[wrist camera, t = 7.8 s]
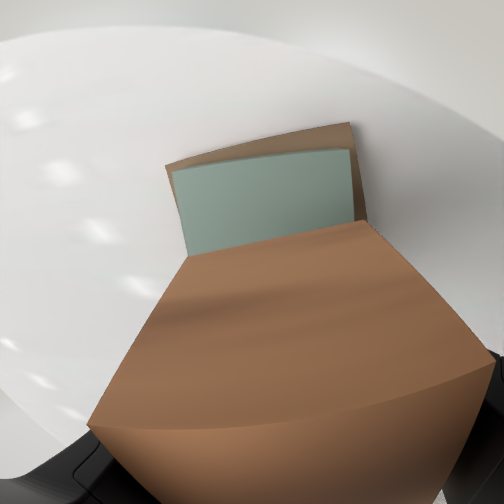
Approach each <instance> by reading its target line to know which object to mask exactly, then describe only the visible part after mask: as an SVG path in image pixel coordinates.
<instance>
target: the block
mask: <svg viewBox="0 0 504 504" xmlns="http://www.w3.org/2000/svg"><path fill="white" fill-rule="evenodd" d="M495 363H496V360H495V359H494V358H493V356H492V355H491V354H490V352H489V351H488V350H487V349H486V348H485V346H484V345H483V344H482V343H481V341H480V340H479V339H478V338H477V337H476V335H475V334H474V333H473V332H472V331H471V329H470V328H469V327H468V326H467V325H466V324H465V322H464V321H463V320H462V319H461V318H460V317H459V316H458V314H457V313H456V312H455V311H454V310H453V309H452V308H451V307H450V305H449V304H448V303H447V302H446V301H445V300H444V299H443V298H442V297H441V296H440V294H439V293H438V292H437V291H436V290H435V289H434V288H433V287H432V286H431V285H430V284H429V283H428V282H427V281H426V280H425V279H424V277H423V276H422V275H421V274H420V273H419V272H418V271H417V270H416V269H415V268H414V267H413V266H412V265H411V264H410V263H409V262H408V261H407V260H406V259H405V258H404V257H403V256H402V255H401V254H400V253H399V252H398V251H397V250H396V249H395V248H394V247H393V246H392V245H391V244H390V243H389V242H388V241H386V240H385V239H384V238H383V237H382V236H381V235H380V234H379V233H378V232H377V231H376V230H375V229H374V228H373V227H372V226H371V225H370V224H368V223H367V222H366V221H365V220H360V221H355V222H350V223H345V224H340V225H336V226H331V227H326V228H321V229H316V230H312V231H307V232H302V233H297V234H292V235H288V236H283V237H278V238H273V239H269V240H264V241H259V242H254V243H250V244H245V245H240V246H236V247H231V248H226V249H222V250H217V251H212V252H208V253H203V254H198V255H194V256H189V257H187V258H186V260H185V261H184V263H183V264H182V266H181V267H180V269H179V270H178V272H177V274H176V275H175V277H174V278H173V280H172V281H171V283H170V284H169V286H168V288H167V289H166V291H165V292H164V294H163V295H162V297H161V299H160V300H159V302H158V303H157V305H156V307H155V308H154V310H153V311H152V313H151V315H150V316H149V318H148V319H147V321H146V323H145V324H144V326H143V328H142V329H141V331H140V332H139V334H138V336H137V337H136V339H135V341H134V342H133V344H132V346H131V347H130V349H129V351H128V352H127V354H126V356H125V358H124V359H123V361H122V363H121V364H120V366H119V368H118V369H117V371H116V373H115V375H114V376H113V378H112V380H111V382H110V383H109V385H108V387H107V389H106V390H105V392H104V394H103V396H102V397H101V399H100V401H99V403H98V405H97V406H96V408H95V410H94V412H93V414H92V415H91V417H90V419H89V421H88V423H87V426H88V427H89V428H90V430H91V431H92V432H93V433H94V434H95V436H96V437H97V438H98V439H99V440H100V442H101V443H102V444H103V445H104V446H105V447H106V449H107V450H108V451H109V452H110V453H111V454H112V455H113V456H114V457H115V459H116V460H117V461H118V462H119V463H120V464H121V465H122V466H123V467H124V468H125V469H126V470H127V471H128V472H129V473H130V474H131V475H132V476H133V477H134V478H135V479H136V480H137V481H138V482H139V483H140V484H141V485H142V486H143V487H144V488H145V489H146V490H147V491H148V492H149V493H150V494H152V495H153V496H154V497H155V498H156V499H157V500H158V501H159V502H160V503H162V504H432V503H433V502H434V500H435V499H436V497H437V495H438V494H439V492H440V490H441V489H442V487H443V485H444V484H445V482H446V480H447V478H448V476H449V475H450V473H451V471H452V469H453V467H454V465H455V463H456V462H457V460H458V458H459V456H460V454H461V452H462V449H463V447H464V445H465V443H466V441H467V439H468V437H469V434H470V432H471V430H472V427H473V425H474V423H475V420H476V418H477V415H478V413H479V410H480V408H481V405H482V403H483V400H484V397H485V394H486V391H487V389H488V386H489V383H490V380H491V376H492V373H493V370H494V367H495Z"/></svg>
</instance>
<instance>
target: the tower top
mask: <svg viewBox="0 0 504 504" xmlns="http://www.w3.org/2000/svg"><path fill="white" fill-rule="evenodd" d="M172 177H173V183H174V188H175V194H176V199H177V204H178V209H179V214H180V219H181V224H182V229H183V234H184V239H185V244H186V248H187V253H188V257H189V256H194V255H198V254H203V253H208V252H212V251H217V250H222V249H226V248H231V247H236V246H240V245H245V244H250V243H254V242H259V241H264V240H269V239H273V238H278V237H283V236H288V235H292V234H297V233H302V232H307V231H312V230H316V229H321V228H326V227H331V226H336V225H340V224H345V223H350V222H354V204H353V189H352V176H351V164H350V153H349V150H348V149H342V148H328V149H316V150H305V151H295V152H285V153H276V154H268V155H260V156H252V157H245V158H238V159H231V160H224V161H218V162H212V163H205V164H200V165H194V166H188V167H184V168H181V169H179V170H176V171H173V172H172Z"/></svg>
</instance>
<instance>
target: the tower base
mask: <svg viewBox="0 0 504 504" xmlns="http://www.w3.org/2000/svg"><path fill="white" fill-rule="evenodd" d="M328 148H342V149H348V150H349V153H350V164H351V176H352V189H353V204H354V222H355V221H360V220H365V221H366V222H367V214H366V207H365V201H364V194H363V188H362V182H361V176H360V171H359V165H358V160H357V155H356V150H355V145H354V140H353V135H352V131H351V126H350V122H347V123H340V124H334V125H328V126H323V127H317V128H312V129H306V130H301V131H296V132H291V133H287V134H282V135H277V136H273V137H268V138H264V139H259V140H255V141H251V142H247V143H243V144H239V145H235V146H231V147H227V148H223V149H219V150H216V151H212V152H208V153H205V154H201V155H198V156H194V157H191V158H187V159H184V160H181V161H178V162H174V163H171V164H168V165H165V167H166V171H167V174H168V178H169V181H170V185H171V188H172V192H173V195H174V198H175V202H176V205H177V208H178V204H177V199H176V194H175V188H174V183H173V177H172V172H173V171H176V170H179V169H181V168H184V167H188V166H194V165H200V164H205V163H212V162H218V161H224V160H231V159H238V158H245V157H252V156H260V155H268V154H276V153H285V152H295V151H305V150H316V149H328ZM178 212H179V209H178ZM179 215H180V214H179ZM367 223H368V222H367Z"/></svg>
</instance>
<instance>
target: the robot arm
mask: <svg viewBox="0 0 504 504" xmlns="http://www.w3.org/2000/svg"><path fill="white" fill-rule="evenodd" d="M487 350H488V349H487ZM488 351H489V352H490V354H491V355H492V356H493V358H494V359H495V360H496V363H495V367H494V370H493V373H492V376H491V380H490V383H489V386H488V389H487V391H486V394H485V397H484V400H483V403H482V405H481V408H480V410H479V413H478V415H477V418H476V420H475V423H474V425H473V427H472V430H471V432H470V434H469V437H468V439H467V441H466V443H465V445H464V447H463V449H462V452H461V454H460V456H459V458H458V460H457V462H456V463H455V465H454V467H453V469H452V471H451V473H450V475H449V476H448V478H447V480H446V482H445V484H444V485H443V487H442V490H443V493H444V496H445V499H446V502H447V504H504V356H501V357H500V355H499V354H497V353H495V352H493V351H491V350H488ZM0 504H162V503H160V502H159V501H158V500H157V499H156V498H155V497H154V496H153V495H152V494H150V493H149V492H148V491H147V490H146V489H145V488H144V487H143V486H142V485H141V484H140V483H139V482H138V481H137V480H136V479H135V478H134V477H133V476H132V475H131V474H130V473H129V472H128V471H127V470H126V469H125V468H124V467H123V466H122V465H121V464H120V463H119V462H118V461H117V460H116V459H115V457H114V456H113V455H112V454H111V453H110V452H109V451H108V450H107V449H106V447H105V446H104V445H103V444H102V443H101V442H100V440H99V439H98V438H97V437H96V436H95V434H94V433H93V432H92V431H91V430H89V431H88V432H87V433H86V434H84V435H83V436H82V437H81V438H79V439H78V440H77V441H75V442H74V443H73V444H71V445H70V446H68V447H67V448H66V449H64V450H63V451H61V452H60V453H58V454H57V455H55V456H54V457H52V458H51V459H49V460H48V461H46V462H45V463H43V464H42V465H40V466H38V467H37V468H35V469H34V470H32V471H31V472H29V473H27V474H25V475H23V476H21V477H17V478H13V479H0Z"/></svg>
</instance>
